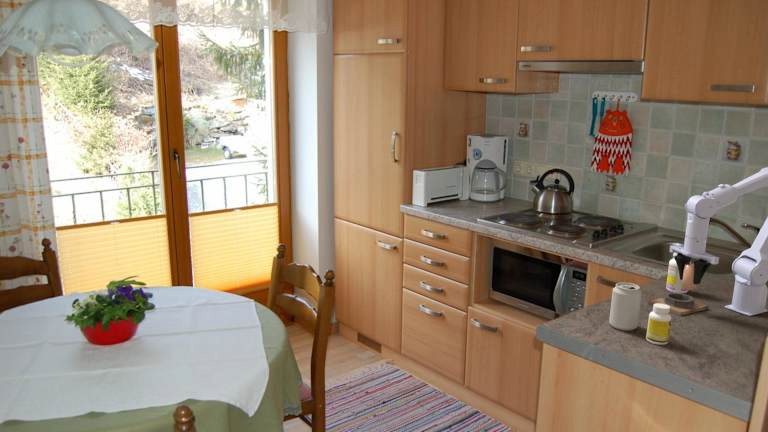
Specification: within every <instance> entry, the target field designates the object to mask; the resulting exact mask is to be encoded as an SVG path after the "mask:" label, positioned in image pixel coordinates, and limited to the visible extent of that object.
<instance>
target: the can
mask: <svg viewBox="0 0 768 432" xmlns="http://www.w3.org/2000/svg"><path fill="white" fill-rule="evenodd" d="M642 292H643V291H641V287H640V285H637V284H635V283H631V282H622V281H621V282H617V283H615V287H613V288H612V293H611V302H610V309H609V311H610V312H609V319H608V322H609V324H610V325H611V326H612V328H614V329H616V330H620V331H625V332H626V331H633V330H635V329H637V328H638V327H639V320H640V319H639V318H640V311H641V310H640V309H641V301H642V294H643V293H642Z"/></svg>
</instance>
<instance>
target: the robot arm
mask: <svg viewBox="0 0 768 432" xmlns="http://www.w3.org/2000/svg"><path fill="white" fill-rule="evenodd" d="M763 187H768V166H767V167H763V168H761V169H760V170H759V171H758V172H756V173H754V174H752V175H750V176H749V177H746V178H744V179H742V180H741V181H738V182H737V183H735V184H733V185H730V184H727V183H725V184H723V183H721V184H718V185H717V187H715V188H714V189H711V190H709V191H704V192H703V193H702V195H697V194H695V195H693V196H691V197H690V198H689V199H688V200H687V203H685V204H684V209H685V211H686V212H687V216H686V217H687V221H686V227H685V235H684V236H685V237H684V243H683V246H680V245H679V246H678V245H674V244H673V245H670V246H669V253H672V254H674V253H677V256H673V259H675V261H676V263H677V266H678V270H679V276H680V280H682V279H683V272H684V265H685V263H690V262H691V261H692V259H696V260H694V261H693V264H694V270H695V273H694V284H697V285H699V284H701V282H702V280H703V277H704V275H705V274H706V271H707V270H708V269H709V267H710V266H712V265H718V264H719V261H720V257H719V256H716V255H713V254H711V253H708V252H706V248H707V246H706V245H707V241H708V240H707V239H708V232H709V226H710V221H711V220H710V218H712V216H714V215H715V213H716V212H717V211H718V210H720V209H723V208H725V207H727V206H730V205H732V204H733V203H736V202H737V200H738V197H739V196H742V195H745V194H747V193H751V192H753V191H756V190H758V189H760V188H763ZM731 271H732V273H733V274H734V279H735V281H734V285H733V286H734V287H733V293H732V301H731V304H728V305H727V304H726V305H725V306H724V308H725V309H728V310H731V311H733V312H737V313H740V314H742V315H745V316H749V317H753V316H755V315H758V314H763V313H766V312H768V309H767V308H766V304H767V301H768V300H767V299H768V287H767V282H768V216H767V217H766V219H765V221H764V223H763V225H762V226H761V228H760V230H759V232H758V234H757V236H756V237H755V239H754V240H753V243H752V245H751V247H750V248H747V249H745V250H743V251H742V252H741V254H740V255H739V256H738V257H737V258H735V260H733V262H732V265H731Z"/></svg>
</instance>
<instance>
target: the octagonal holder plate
mask: <svg viewBox="0 0 768 432" xmlns="http://www.w3.org/2000/svg"><path fill="white" fill-rule="evenodd" d="M656 303H660V304H665V305H668V306H670V312H669V313H672V314H675V315H677V316H680V317H681V316H684V315H689V314H693V313H698V312H702V311H705V310H706V311H707V310H708V309H709V305H707V304H704V303H702V302H699V301H695V298H694V297H693V296H691V295H689V294H687V293H674V292H670V291H669V292H665V293H664V296H663V297H660V298H655V299H652V300H651V299H650V300H648V304H649V305H650V304H651V305H650V306H653V305H654V304H656Z"/></svg>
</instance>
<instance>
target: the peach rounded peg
mask: <svg viewBox="0 0 768 432" xmlns="http://www.w3.org/2000/svg"><path fill="white" fill-rule="evenodd" d="M694 273H695V270H694V262H693V263H685V265H684V272H683V279H682V288H684V289H688V291H689V290H690V291H696V290H697V286H698V284H694Z"/></svg>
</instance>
